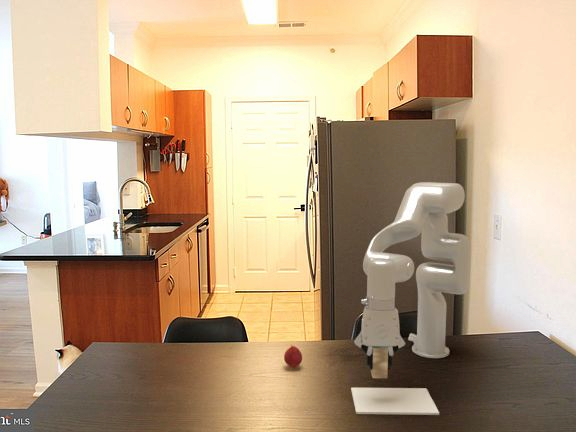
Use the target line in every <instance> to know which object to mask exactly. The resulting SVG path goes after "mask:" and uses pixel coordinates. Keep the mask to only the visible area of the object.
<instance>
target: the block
mask: <svg viewBox="0 0 576 432" xmlns="http://www.w3.org/2000/svg"><path fill="white" fill-rule="evenodd" d="M372 355H373V369H372V370H370V373H371V377H372V379H388V371H389V370H388V346H373V348H372Z"/></svg>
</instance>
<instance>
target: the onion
mask: <svg viewBox="0 0 576 432" xmlns="http://www.w3.org/2000/svg"><path fill="white" fill-rule="evenodd" d="M283 359H284V362H285V363H286V365H287V366H288V367H290V368H291V369H295V368H297V367H299V366H300V365H301V363H302V362H303V354H302V352H301V351H300V349H299V348H298V347H296V346H295V345H294V344H291V345H290V347H289V348H287V350H286V351H285V352H284V355H283Z"/></svg>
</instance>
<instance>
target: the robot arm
mask: <svg viewBox="0 0 576 432" xmlns="http://www.w3.org/2000/svg"><path fill="white" fill-rule="evenodd" d="M464 189H465V188H464V187H463V186H462V185H461V184H460V183H456V182H453V183H452V182H435V181H434V182H433V181H432V182H431V181H428V182H427V181H426V182H425V181H423V182H421V181H420V182H417V183H414V184H411V186H410V187H409V188H407V189H406V191H405V193H404V195H403V198H402V200H401V203H400V206H399V208H398V211H397V213H396V216H395V219H394V220H393V222H392V223H390V224H389V225H387V226H385V227H384V228H382V229H381V230H380V231H378V233H376V234H375V235H374V236H373V238H372V239H371V240H370V242H369V244H368V247H367V248H366V252H365V254H364V257H363V262H362V268H363V269H362V270H363V272H364V273H365V275H366V276H367V278H366V279H367V280H366V283H367V284H366V290H367V291H366V296H365V298H364V299H362V298H361V305H365V306H364V309H363V312H362V318H361V328H360V332H359V334H358V335H357V336H356V337H355V339H354V342H353V343H354V345H355V346H357V347H358V348H360V349H361V350H362V351H363V352H364V353H366V365H367V366H368V367H369V370H370V371H371V370H372V369H373V355H372V348H373V346H388V371H390V367H391V366H392V364H393V356H394V354H395V353H397V351H398V350H399V349H400V348H402V347H404V346H405V345H406V342H405V340H404V339H403V338H402V336H401V333H400V318H399V317H400V316H399V310H398V309H397V308H396V307H395V302H396V299H395V298H396V283H403V282H406V281H408V280H410V279H411V277H412V276H413V275H414V272H415V281H416V286H417V287H416V288H417V320H416V321H417V322H416V323H417V326H416V329H417V330H416V334H415V333H412V332H411V333H409V336H408V341H411V342H413V345H412V346H411V350H412V352H413V353H414V354H415V355H418V356H420V357H423V358H427V359H443V358H445V357H448V356H449V355H450V349H449V347H447V346H446V330H447V329H446V327H447V326H446V324H447V323H446V322H447V302H446V299H445V296H444V295H443V294H442V293H446V294H453V295H465V294H466V293H467V292H468V289H469V288H470V287H469V286H470V279H471V277H470V276H471V252H472V251H471V242H470V239H469V238H468V237H467V236H466V235H465V234H462V233H456V232H455V233H454V232H449V229H448V228H449V227H448V226H449V225H448V223H449V222H448V220H449V218H448V217H449V216H448V215H447V214H451V213H453V212H455V211H458V210H459V209H461V208H462V206H463V204H464V202H465V199H466V198H465V197H466V196H465V190H464ZM420 234H421V237H420V238H421V239H420V241H421V243H420V244H421V246H420V247H421V248H420V249H421V254H422V256H423V257H424V258H426V259H429V260H435V261H443V262H451V263H452V264H446V263H436V262H431V261H429V262H423V263H421V264H419V265H418V267H417V268H416V271H415V263H414V261H413V259H412V258H411V257H410V256H408V255H404V254H398V253H390V252H384V251H385V250H386V249H388V248H389V247H390V246H393V245H396V244H399V243H401V242H402V243H403V242H406V241H408V240H411V239H414V238H417V237H418V236H420Z"/></svg>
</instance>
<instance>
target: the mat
mask: <svg viewBox="0 0 576 432" xmlns="http://www.w3.org/2000/svg"><path fill="white" fill-rule="evenodd" d="M350 390H351V391H350V392H351V396H352V400H353V405H354V406H353V407H354V410H355V414H356V415H411V416H412V415H415V416H418V415H420V416H424V415H426V416H427V415H428V416H440V411H439V410H438V407H437V406H436V404H435V401H434V399H432V397H431V395H430V393H429V390H428V389H427V388H426V387H425V388H424V387H423V388H422V387H411V388H410V387H409V388H408V387H351V388H350Z"/></svg>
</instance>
